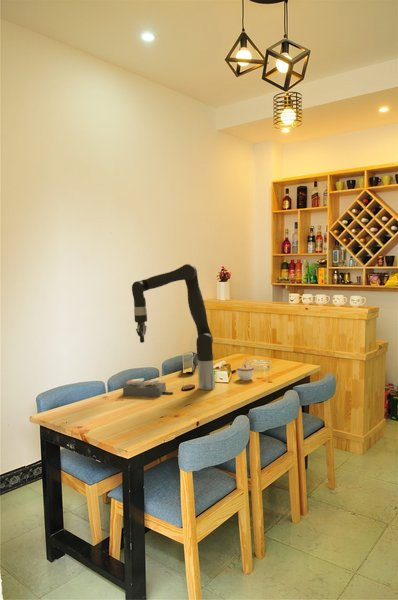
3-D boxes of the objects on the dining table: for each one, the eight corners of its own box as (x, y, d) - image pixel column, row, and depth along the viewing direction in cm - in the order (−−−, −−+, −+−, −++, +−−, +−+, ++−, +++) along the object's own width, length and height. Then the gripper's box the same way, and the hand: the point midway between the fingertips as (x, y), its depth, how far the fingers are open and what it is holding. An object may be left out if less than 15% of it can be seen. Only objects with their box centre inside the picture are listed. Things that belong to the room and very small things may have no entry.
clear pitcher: (199, 365, 332) (199, 351, 331) (195, 375, 304) (195, 359, 304) (187, 365, 333) (186, 351, 332) (181, 375, 305) (181, 360, 305)
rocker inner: (162, 381, 264) (161, 377, 264) (159, 383, 259) (158, 379, 259) (148, 384, 266) (147, 380, 266) (145, 387, 261) (143, 383, 261)
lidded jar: (256, 378, 289) (256, 363, 288) (249, 382, 280) (249, 367, 279) (241, 376, 295) (241, 362, 294) (234, 380, 286) (233, 365, 285)
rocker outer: (144, 381, 267) (143, 377, 267) (141, 384, 261) (140, 380, 261) (130, 383, 269) (129, 379, 269) (126, 385, 263) (126, 382, 263)
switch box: (175, 391, 267) (175, 382, 266) (170, 397, 255) (169, 388, 254) (130, 390, 273) (130, 381, 272) (123, 395, 261) (122, 387, 261)
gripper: (143, 315, 265) (144, 344, 267) (149, 312, 278) (151, 340, 280) (130, 315, 267) (132, 344, 268) (138, 312, 280) (139, 340, 281)
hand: (142, 342), depth 274 cm, fingers closed
